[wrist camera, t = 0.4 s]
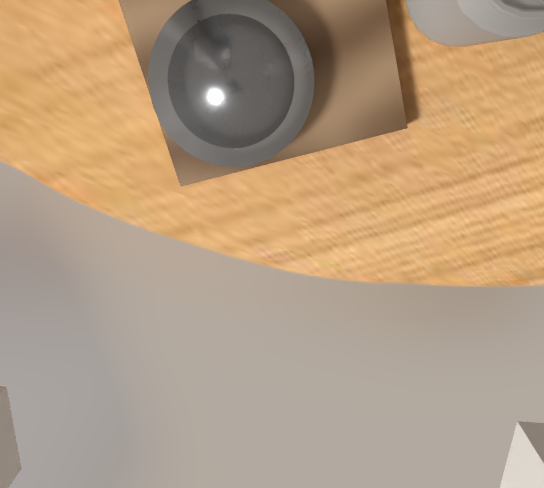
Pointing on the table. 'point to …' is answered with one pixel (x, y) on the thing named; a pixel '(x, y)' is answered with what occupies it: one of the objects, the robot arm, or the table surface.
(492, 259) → the table surface
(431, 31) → the can
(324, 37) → the board
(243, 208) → the table surface
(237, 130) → the grey hollow ring
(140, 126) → the table surface
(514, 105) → the table surface
